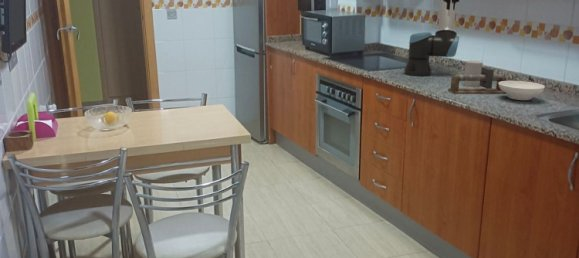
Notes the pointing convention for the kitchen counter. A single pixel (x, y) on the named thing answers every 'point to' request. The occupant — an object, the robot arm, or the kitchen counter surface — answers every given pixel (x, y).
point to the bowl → (521, 89)
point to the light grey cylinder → (473, 72)
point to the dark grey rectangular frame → (487, 77)
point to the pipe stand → (456, 89)
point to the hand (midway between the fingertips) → (449, 16)
